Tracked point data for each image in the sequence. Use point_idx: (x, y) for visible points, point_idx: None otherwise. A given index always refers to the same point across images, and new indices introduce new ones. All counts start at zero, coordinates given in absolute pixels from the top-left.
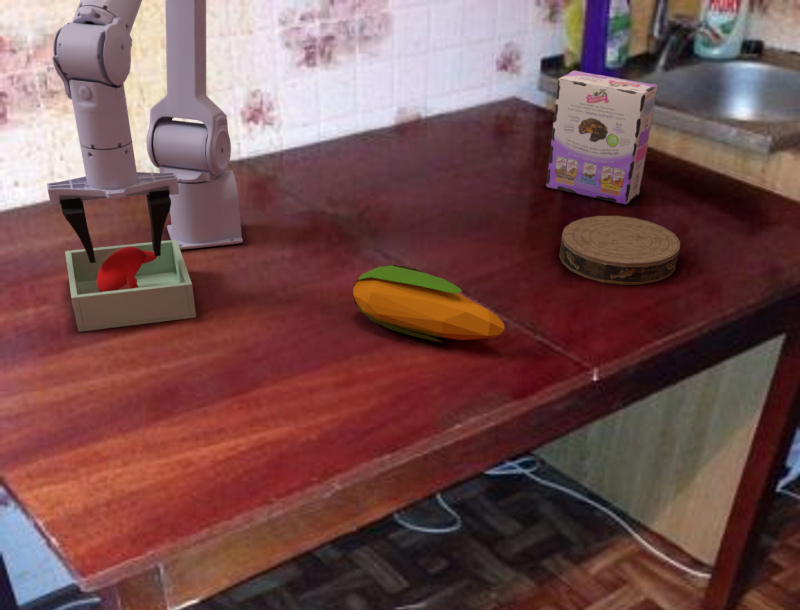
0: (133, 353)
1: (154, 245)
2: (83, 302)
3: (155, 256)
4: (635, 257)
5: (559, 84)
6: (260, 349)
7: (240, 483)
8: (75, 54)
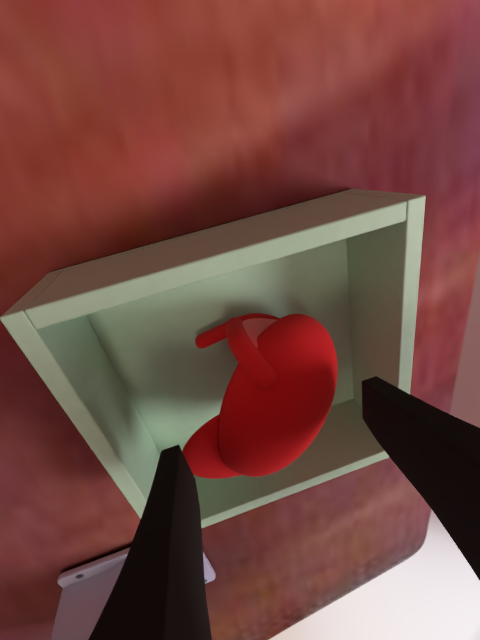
0: (191, 17)
1: (174, 478)
2: (379, 202)
3: (185, 455)
4: None
5: None
6: None
7: None
8: None
